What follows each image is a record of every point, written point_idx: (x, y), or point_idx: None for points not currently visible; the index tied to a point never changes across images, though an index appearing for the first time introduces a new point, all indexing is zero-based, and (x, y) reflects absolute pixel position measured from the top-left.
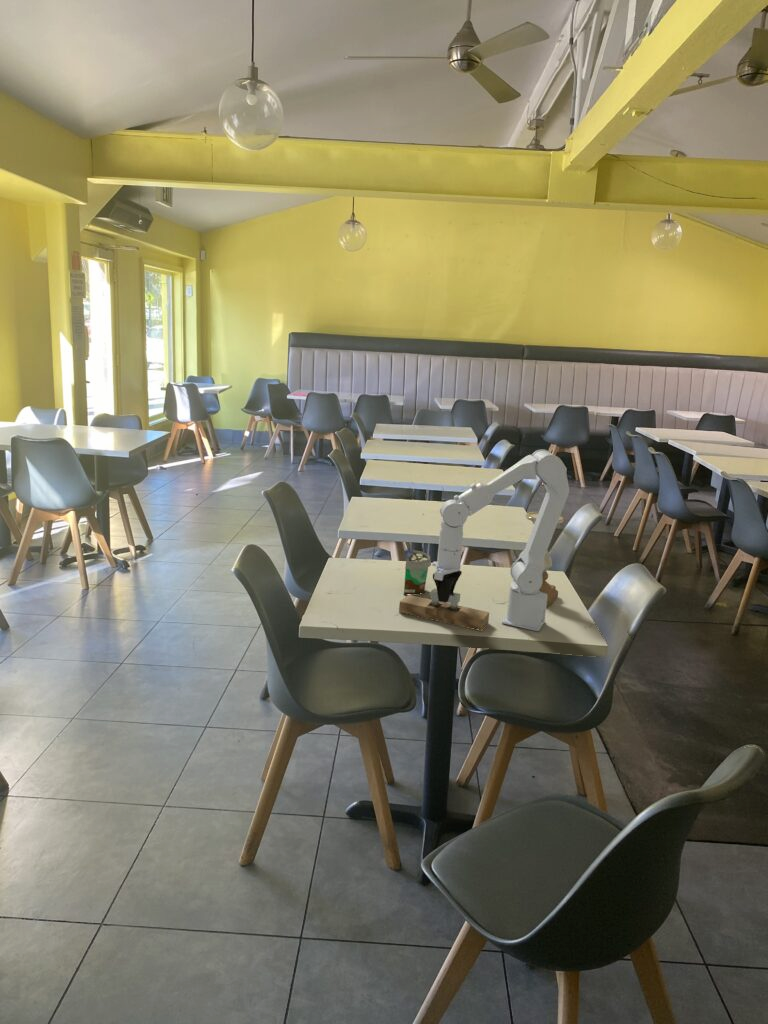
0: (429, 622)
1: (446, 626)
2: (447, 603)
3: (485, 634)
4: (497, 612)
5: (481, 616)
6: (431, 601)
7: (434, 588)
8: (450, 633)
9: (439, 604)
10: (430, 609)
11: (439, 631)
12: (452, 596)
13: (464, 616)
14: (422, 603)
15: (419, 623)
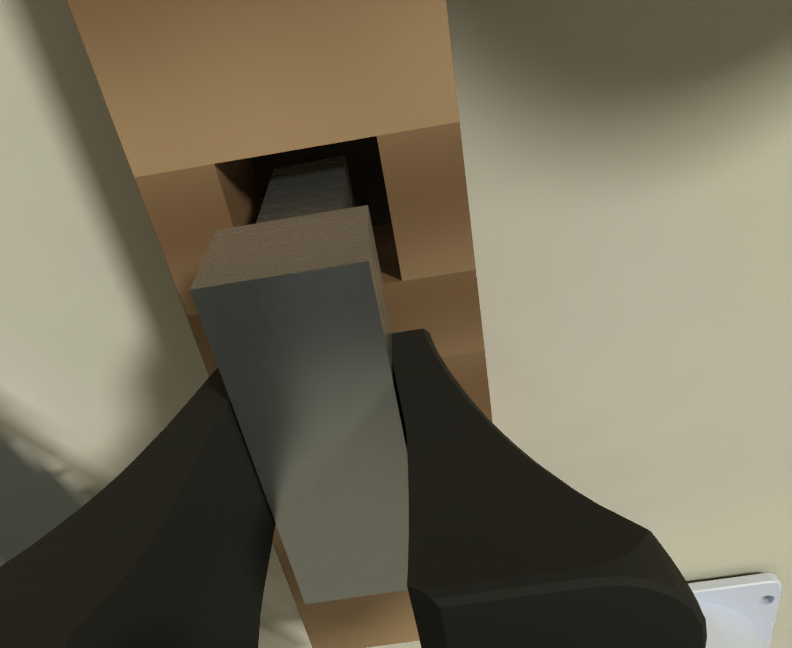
0: (128, 228)
1: (186, 379)
2: (469, 309)
3: (292, 600)
4: (775, 505)
5: (376, 626)
6: (390, 128)
7: (362, 265)
8: (89, 459)
9: (397, 239)
10: (163, 240)
11: (38, 389)
12: (288, 553)
13: (275, 546)
14: (217, 70)
15: (9, 166)
